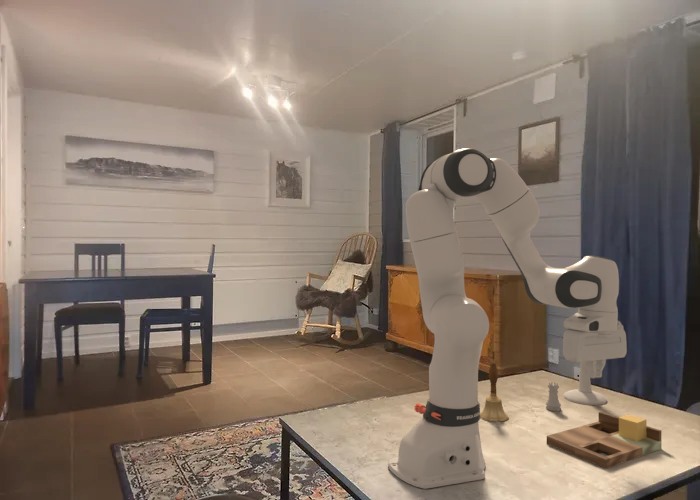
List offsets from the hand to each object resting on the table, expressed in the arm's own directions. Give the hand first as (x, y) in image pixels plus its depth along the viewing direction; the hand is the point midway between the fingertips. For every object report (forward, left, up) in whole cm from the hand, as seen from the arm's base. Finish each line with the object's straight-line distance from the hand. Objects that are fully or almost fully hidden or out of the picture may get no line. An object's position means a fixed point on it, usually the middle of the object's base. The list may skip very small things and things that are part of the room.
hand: (594, 377), depth 120 cm
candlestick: (+34, +27, -18) cm, 47 cm away
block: (+10, -3, -16) cm, 19 cm away
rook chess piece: (+16, +25, -18) cm, 34 cm away
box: (+3, 0, -18) cm, 18 cm away
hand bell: (-5, +29, -18) cm, 34 cm away
